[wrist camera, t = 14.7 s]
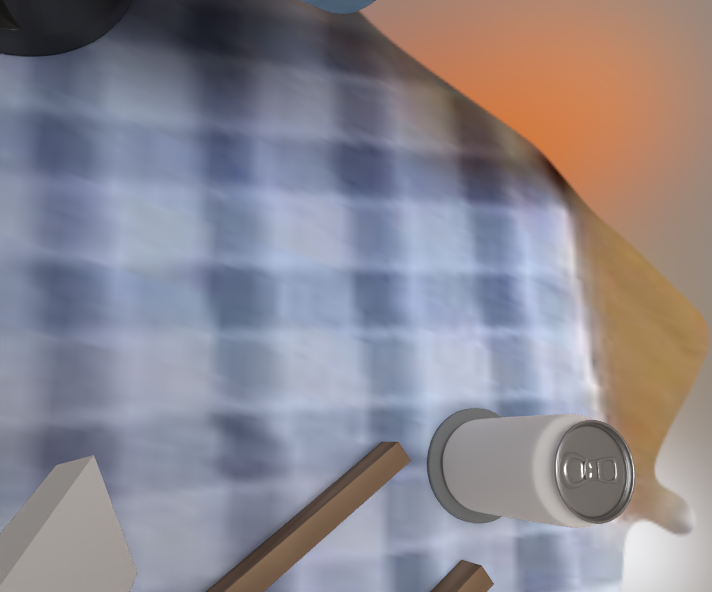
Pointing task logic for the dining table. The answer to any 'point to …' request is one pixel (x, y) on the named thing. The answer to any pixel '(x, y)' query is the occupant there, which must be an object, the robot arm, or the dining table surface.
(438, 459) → the felt pad
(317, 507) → the u-shaped wooden frame
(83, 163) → the dining table surface
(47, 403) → the dining table surface
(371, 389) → the dining table surface
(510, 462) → the can
